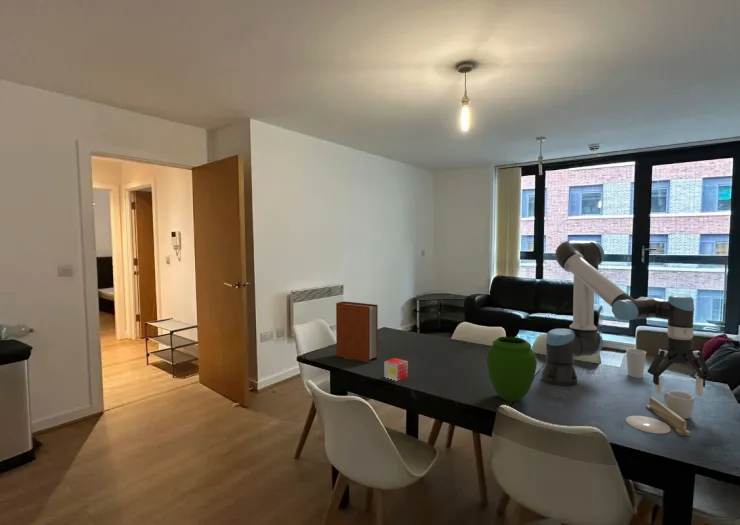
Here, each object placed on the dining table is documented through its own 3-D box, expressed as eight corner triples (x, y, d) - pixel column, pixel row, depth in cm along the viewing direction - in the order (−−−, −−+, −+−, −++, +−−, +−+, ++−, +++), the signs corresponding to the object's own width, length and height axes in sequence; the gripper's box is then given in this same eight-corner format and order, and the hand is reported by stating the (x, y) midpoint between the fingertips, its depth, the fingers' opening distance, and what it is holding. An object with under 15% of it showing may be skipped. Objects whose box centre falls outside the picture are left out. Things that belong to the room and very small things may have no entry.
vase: (531, 412, 152) (532, 348, 151) (479, 401, 162) (480, 341, 161) (539, 395, 169) (541, 338, 167) (492, 386, 179) (493, 332, 177)
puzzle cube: (384, 377, 190) (384, 361, 190) (394, 373, 196) (394, 357, 195) (397, 382, 185) (397, 365, 184) (407, 377, 190) (408, 361, 190)
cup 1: (648, 379, 188) (649, 353, 187) (629, 377, 189) (630, 352, 189) (640, 373, 196) (641, 349, 195) (622, 372, 197) (623, 348, 196)
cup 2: (655, 408, 155) (655, 388, 155) (674, 408, 156) (675, 387, 155) (678, 421, 144) (679, 399, 144) (699, 420, 145) (700, 398, 145)
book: (377, 359, 219) (377, 304, 217) (369, 363, 212) (369, 306, 210) (343, 352, 231) (343, 301, 230) (335, 356, 225) (334, 303, 223)
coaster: (636, 432, 136) (636, 431, 136) (619, 415, 149) (619, 414, 149) (679, 435, 134) (679, 434, 134) (658, 418, 147) (658, 417, 147)
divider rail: (680, 434, 134) (680, 421, 134) (645, 407, 156) (646, 395, 156) (690, 435, 134) (690, 422, 134) (654, 407, 156) (654, 396, 156)
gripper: (648, 338, 147) (646, 396, 148) (725, 341, 143) (723, 399, 144) (638, 334, 154) (636, 388, 155) (711, 336, 150) (709, 392, 151)
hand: (678, 394), depth 149 cm, fingers open, 13 cm apart
